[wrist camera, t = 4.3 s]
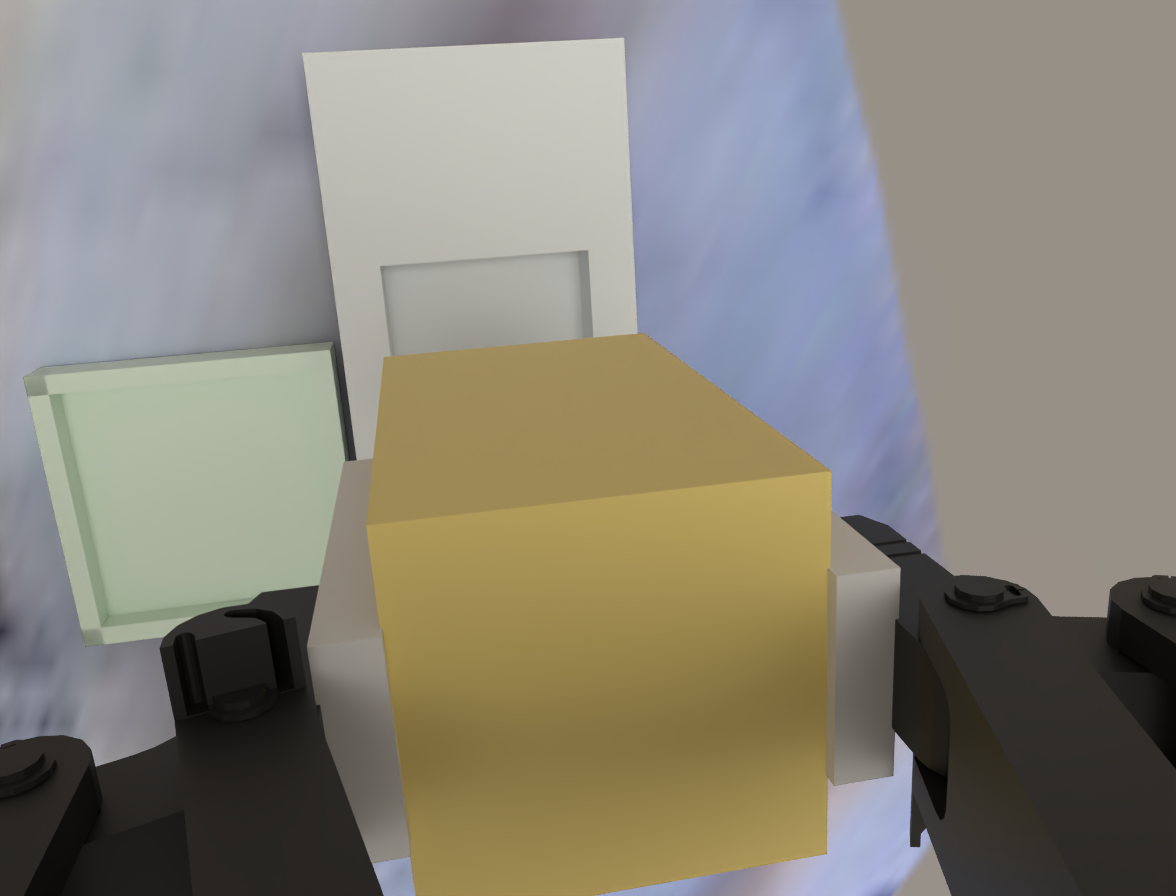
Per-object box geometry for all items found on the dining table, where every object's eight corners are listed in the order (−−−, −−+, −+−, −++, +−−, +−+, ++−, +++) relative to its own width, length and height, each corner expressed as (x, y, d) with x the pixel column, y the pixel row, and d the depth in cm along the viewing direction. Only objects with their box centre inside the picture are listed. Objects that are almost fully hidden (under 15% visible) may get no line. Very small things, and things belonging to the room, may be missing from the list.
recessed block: (384, 604, 35) (381, 643, 32) (312, 63, 30) (302, 53, 27) (632, 573, 36) (650, 608, 34) (604, 48, 31) (623, 37, 28)
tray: (98, 626, 34) (85, 646, 32) (40, 367, 31) (23, 377, 30) (367, 593, 35) (366, 611, 34) (333, 341, 32) (329, 350, 31)
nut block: (413, 599, 20) (420, 926, 12) (384, 356, 19) (365, 525, 10) (654, 568, 21) (827, 853, 12) (643, 332, 19) (831, 470, 11)
